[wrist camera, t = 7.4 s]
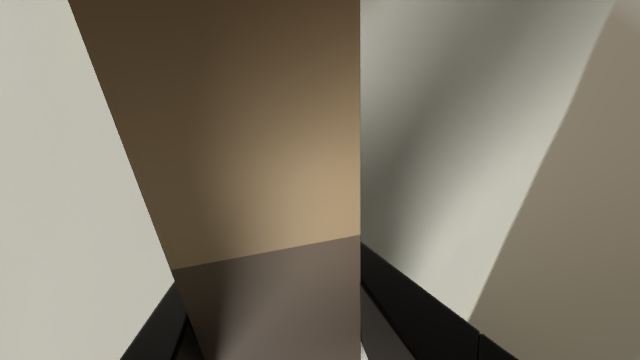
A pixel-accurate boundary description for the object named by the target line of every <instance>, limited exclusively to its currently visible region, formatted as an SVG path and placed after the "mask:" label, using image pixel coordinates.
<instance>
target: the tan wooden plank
mask: <svg viewBox="0 0 640 360" xmlns="http://www.w3.org/2000/svg"><path fill="white" fill-rule="evenodd" d="M68 2H69V4H70V7H71V10H72V12H73V15H74V17H75V20H76V23H77V25H78V28H79V31H80V33H81V36H82V38H83V41H84V44H85V46H86V49H87V52H88V54H89V57H90V59H91V62H92V65H93V67H94V70H95V73H96V75H97V78H98V81H99V83H100V86H101V88H102V91H103V94H104V96H105V99H106V102H107V104H108V107H109V109H110V112H111V115H112V117H113V120H114V123H115V125H116V128H117V130H118V133H119V136H120V138H121V141H122V144H123V146H124V149H125V151H126V154H127V157H128V159H129V162H130V165H131V167H132V170H133V172H134V175H135V178H136V180H137V183H138V186H139V188H140V191H141V193H142V196H143V199H144V201H145V204H146V207H147V209H148V212H149V214H150V217H151V220H152V222H153V225H154V228H155V230H156V233H157V235H158V238H159V241H160V243H161V246H162V249H163V251H164V254H165V256H166V259H167V262H168V264H169V267H170V270H171V272H172V275H173V277H174V280H175V283H176V285H177V288H178V291H179V293H180V296H181V298H182V301H183V304H184V306H185V309H186V312H187V314H188V317H189V319H190V322H191V325H192V327H193V330H194V333H195V335H196V338H197V340H198V343H199V346H200V348H201V351H202V353H203V355H204V358H205V360H361V314H360V0H68Z"/></svg>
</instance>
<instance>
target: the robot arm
mask: <svg viewBox="0 0 640 360" xmlns="http://www.w3.org/2000/svg"><path fill="white" fill-rule="evenodd" d="M360 314H361V341H362V344H363V347H364V350H365V352H366V355H367V357H368V360H518V359H517V358H515V357H514V356H513V355H511V354H510V353H508V352H507V351H505V350H504V349H503V348H501V347H500V346H499V345H497V344H496V343H495V342H493V341H492V340H491V339H489V338H488V337H487V336H485V335H484V334H480V333H479V330H477V329H476V328H475V327H473V326H472V325H471V324H469V323H468V322H467V321H465V320H464V319H463V318H461V317H460V316H459V315H457V314H456V313H455V312H453V311H452V310H451V309H449V308H448V307H447V306H445V305H444V304H443V303H441V302H440V301H439V300H437V299H436V298H435V297H433V296H432V295H431V294H430V293H428V292H427V291H426V290H424V289H423V288H422V287H420V286H419V285H418V284H416V283H415V282H414V281H412V280H411V279H410V278H408V277H407V276H406V275H404V274H403V273H402V272H400V271H399V270H398V269H396V268H395V267H394V266H392V265H391V264H390V263H388V262H387V261H386V260H384V259H383V258H382V257H380V256H379V255H378V254H376V253H375V252H374V251H373V250H371V249H370V248H369V247H367V246H366V245H365V244H363V243H362V242H360ZM479 334H480V335H479ZM120 360H205V358H204V355H203V353H202V351H201V348H200V346H199V343H198V340H197V338H196V335H195V333H194V330H193V327H192V325H191V322H190V319H189V317H188V314H187V312H186V309H185V306H184V304H183V301H182V298H181V296H180V293H179V291H178V288H177V285H176V283H175V281H174V283H173V284H172V286H171V287H170V288H169V290H168V291H167V293H166V294H165V296H164V297H163V298H162V300H161V301H160V303H159V304H158V306H157V307H156V309H155V310H154V311H153V313H152V314H151V316H150V317H149V319H148V320H147V321H146V323H145V324H144V326H143V327H142V329H141V330H140V331H139V333H138V334H137V336H136V337H135V339H134V340H133V341H132V343H131V344H130V346H129V347H128V349H127V350H126V351H125V353H124V354H123V356H122V357H121V359H120Z"/></svg>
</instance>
